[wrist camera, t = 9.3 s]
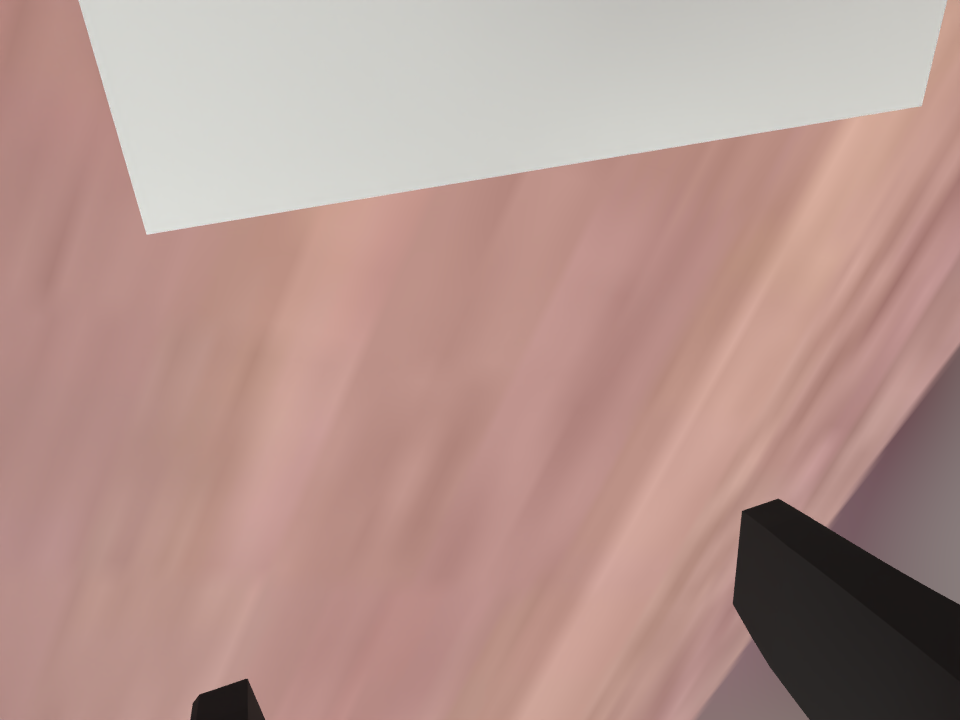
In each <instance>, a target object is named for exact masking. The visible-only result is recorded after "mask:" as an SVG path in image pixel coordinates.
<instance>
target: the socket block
mask: <svg viewBox="0 0 960 720" xmlns="http://www.w3.org/2000/svg"><path fill="white" fill-rule="evenodd" d="M79 3H80V7H81V10H82V14H83V17H84V20H85V24H86V27H87V31H88V34H89V38H90V41H91V45H92V48H93V51H94V55H95V58H96V62H97V65H98V69H99V72H100V76H101V79H102V82H103V86H104V89H105V93H106V96H107V100H108V103H109V106H110V110H111V113H112V117H113V120H114V124H115V127H116V131H117V134H118V137H119V141H120V144H121V148H122V151H123V155H124V158H125V162H126V165H127V168H128V172H129V175H130V179H131V182H132V186H133V189H134V192H135V196H136V199H137V203H138V206H139V210H140V213H141V217H142V220H143V223H144V227H145V230H146V234H153V233H159V232H165V231H171V230H177V229H183V228H189V227H195V226H201V225H207V224H213V223H220V222H226V221H232V220H238V219H244V218H250V217H256V216H262V215H268V214H274V213H280V212H286V211H292V210H298V209H304V208H310V207H316V206H322V205H328V204H334V203H340V202H346V201H352V200H358V199H364V198H370V197H376V196H382V195H388V194H394V193H400V192H406V191H412V190H418V189H424V188H431V187H437V186H443V185H449V184H455V183H461V182H467V181H473V180H479V179H485V178H491V177H497V176H503V175H509V174H515V173H521V172H527V171H533V170H539V169H545V168H551V167H557V166H563V165H569V164H575V163H581V162H587V161H593V160H599V159H605V158H611V157H617V156H623V155H629V154H636V153H642V152H648V151H654V150H660V149H666V148H672V147H678V146H684V145H690V144H696V143H702V142H708V141H714V140H720V139H726V138H732V137H738V136H744V135H750V134H756V133H762V132H768V131H774V130H780V129H786V128H792V127H798V126H804V125H810V124H816V123H822V122H828V121H834V120H841V119H847V118H853V117H859V116H865V115H871V114H877V113H883V112H889V111H895V110H901V109H907V108H913V107H919V106H922V102H923V98H924V94H925V90H926V86H927V82H928V77H929V73H930V69H931V65H932V61H933V57H934V53H935V48H936V44H937V40H938V36H939V32H940V28H941V23H942V19H943V15H944V11H945V7H946V3H947V0H79Z"/></svg>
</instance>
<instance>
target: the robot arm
mask: <svg viewBox="0 0 960 720" xmlns="http://www.w3.org/2000/svg"><path fill="white" fill-rule="evenodd" d="M733 605H734V607H735V609H736V610H737V612H738V614H739V616H740V617H741V619H742V621H743V623H744V624H745V626H746V628H747V630H748V631H749V633H750V635H751V637H752V638H753V640H754V642H755V643H756V645H757V646H758V648H759V650H760V651H761V653H762V655H763V656H764V658H765V660H766V661H767V663H768V665H769V666H770V668H771V669H772V670H773V672H774V673H775V674H776V676H777V677H778V678H779V680H780V681H781V683H782V684H783V685H784V686H785V688H786V689H787V690H788V692H789V693H790V694H791V696H792V697H793V698H794V700H795V701H796V702H797V704H798V705H799V706H800V708H801V709H802V710H803V712H804V713H805V714H806V716H807V717H808V718H809V719H810V720H960V605H959V604H957V603H956V602H954V601H952V600H950V599H948V598H946V597H945V596H943V595H941V594H939V593H937V592H935V591H934V590H932V589H930V588H928V587H927V586H925V585H923V584H921V583H919V582H918V581H916V580H914V579H913V578H911V577H909V576H907V575H906V574H903V573H902V572H900V571H899V570H897V569H895V568H893V567H892V566H890V565H888V564H887V563H885V562H883V561H882V560H880V559H878V558H876V557H875V556H873V555H871V554H870V553H868V552H866V551H865V550H863V549H861V548H860V547H858V546H856V545H855V544H853V543H851V542H850V541H848V540H846V539H845V538H843V537H841V536H840V535H838V534H836V533H835V532H833V531H831V530H830V529H828V528H827V527H825V526H823V525H822V524H820V523H818V522H817V521H815V520H813V519H812V518H810V517H808V516H807V515H805V514H804V513H802V512H800V511H799V510H797V509H795V508H794V507H792V506H790V505H788V504H787V503H785V502H783V501H782V500H780V499H776V500H773V501H770V502H767V503H764V504H761V505H758V506H755V507H752V508H749V509H746V510H744V511H742V517H741V527H740V537H739V547H738V557H737V567H736V577H735V587H734V597H733ZM191 720H265V718H264V716H263V714H262V711H261V709H260V707H259V704H258V702H257V700H256V697H255V695H254V693H253V690H252V688H251V686H250V683H249V681H248V679H244V680H241V681H238V682H235V683H232V684H230V685H227V686H224V687H221V688H218V689H215V690H212V691H209V692H206V693H203V694H200V695H199V696H198V697H197V699H196V700H195V701H194V703H193V706H192V713H191Z"/></svg>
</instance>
